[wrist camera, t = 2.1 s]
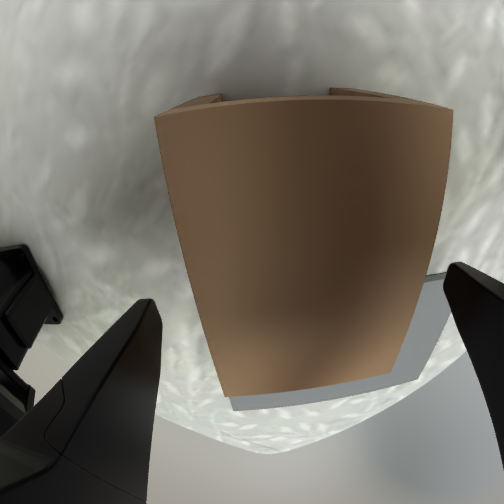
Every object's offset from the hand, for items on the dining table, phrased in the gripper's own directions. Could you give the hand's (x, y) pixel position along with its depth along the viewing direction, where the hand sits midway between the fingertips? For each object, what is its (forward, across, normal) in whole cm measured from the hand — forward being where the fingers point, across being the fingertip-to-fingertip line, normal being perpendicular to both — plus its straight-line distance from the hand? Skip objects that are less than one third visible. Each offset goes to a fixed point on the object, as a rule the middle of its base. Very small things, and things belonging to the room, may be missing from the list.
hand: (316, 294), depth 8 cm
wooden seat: (+7, 0, 0) cm, 7 cm away
